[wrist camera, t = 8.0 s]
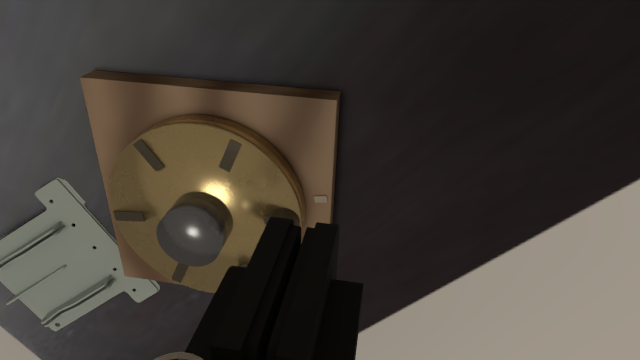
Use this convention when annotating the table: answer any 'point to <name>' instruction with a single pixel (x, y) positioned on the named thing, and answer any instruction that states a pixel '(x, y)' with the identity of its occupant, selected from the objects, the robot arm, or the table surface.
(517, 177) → the table surface
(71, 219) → the metal bracket
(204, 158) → the rotary dial
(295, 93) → the base plate
